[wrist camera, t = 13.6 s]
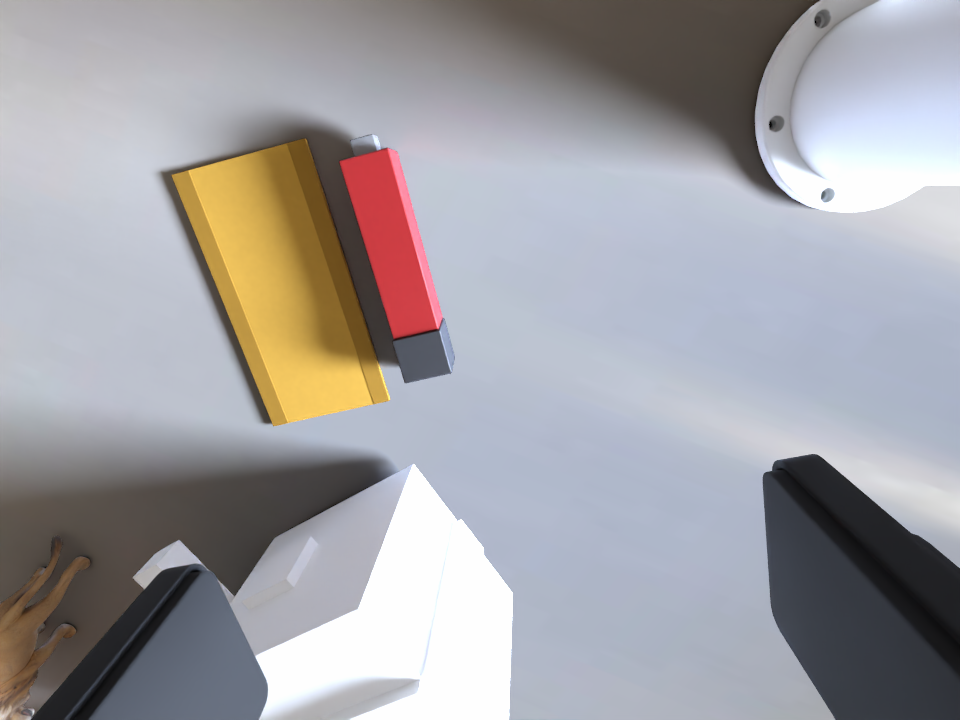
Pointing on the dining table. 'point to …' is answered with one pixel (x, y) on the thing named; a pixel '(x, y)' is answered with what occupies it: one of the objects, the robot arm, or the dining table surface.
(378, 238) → the marker
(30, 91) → the dining table surface
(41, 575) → the lion figurine
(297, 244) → the mustard cloth
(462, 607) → the blocky voxel creature
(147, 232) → the dining table surface
